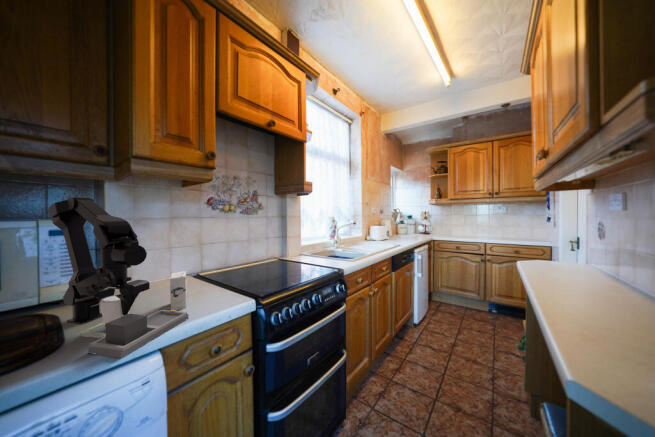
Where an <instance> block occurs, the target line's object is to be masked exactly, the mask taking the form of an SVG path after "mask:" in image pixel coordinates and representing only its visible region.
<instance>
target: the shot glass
mask: <svg viewBox="0 0 655 437" xmlns="http://www.w3.org/2000/svg"><path fill="white" fill-rule="evenodd" d="M116 295H117V294H114V295H113V296H109V297H106V298H103V299H101V300H100V303H99V304H100V311H101V313H102V316H101V317H102V323H104V325H105V324H106V323H108V322H111V321H113V320H115V319H118V318H120V317H122V316H125V315H123V313H122V307H121V300H120V299H119V298H118V297H116ZM128 314H130V311H129V312H128Z"/></svg>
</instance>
